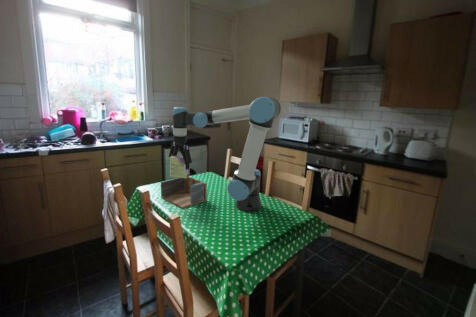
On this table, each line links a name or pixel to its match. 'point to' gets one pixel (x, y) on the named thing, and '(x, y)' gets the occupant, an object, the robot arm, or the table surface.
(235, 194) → the robot arm
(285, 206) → the table surface
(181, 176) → the box
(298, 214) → the table surface
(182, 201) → the grey brown open container
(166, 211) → the table surface
